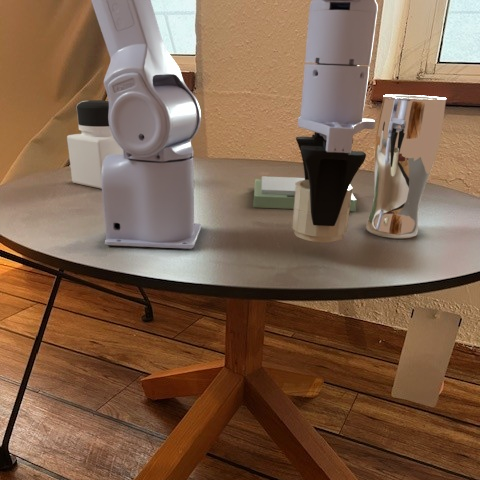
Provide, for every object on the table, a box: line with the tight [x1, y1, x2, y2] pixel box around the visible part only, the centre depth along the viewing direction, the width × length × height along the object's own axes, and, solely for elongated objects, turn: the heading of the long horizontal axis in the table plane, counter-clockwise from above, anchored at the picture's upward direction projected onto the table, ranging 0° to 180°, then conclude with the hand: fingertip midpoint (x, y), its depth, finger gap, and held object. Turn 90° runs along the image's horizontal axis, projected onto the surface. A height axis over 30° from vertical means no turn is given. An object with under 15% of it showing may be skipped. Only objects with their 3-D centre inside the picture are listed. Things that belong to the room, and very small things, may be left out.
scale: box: [253, 175, 358, 212], centre depth 73 cm, size 14×11×2 cm
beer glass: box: [365, 94, 447, 240], centre depth 58 cm, size 7×7×15 cm
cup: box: [291, 180, 353, 243], centre depth 50 cm, size 6×6×5 cm
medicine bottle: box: [66, 99, 123, 190], centre depth 77 cm, size 7×7×12 cm
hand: (320, 216), depth 51 cm, fingers closed on cup, 5 cm apart
